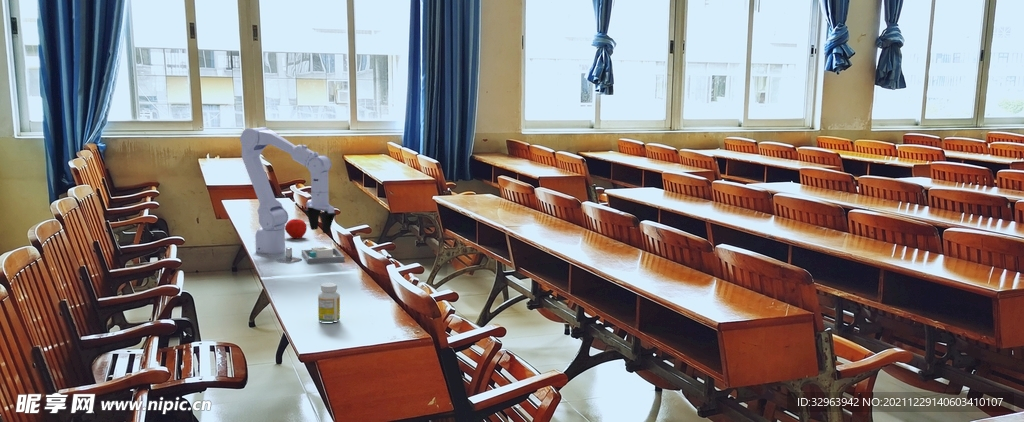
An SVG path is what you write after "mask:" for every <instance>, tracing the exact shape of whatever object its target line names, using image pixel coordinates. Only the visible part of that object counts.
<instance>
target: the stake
mask: <svg viewBox="0 0 1024 422" xmlns="http://www.w3.org/2000/svg"><path fill="white" fill-rule="evenodd" d="M302 260H303V259H302V258H301V257H294V256H293V249H292V247H285V257H279V258H277V259H276V260H275V261H276V263H280V264H281V263H282V264H295V263H299V262H302Z"/></svg>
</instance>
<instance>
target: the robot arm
mask: <svg viewBox="0 0 1024 422" xmlns="http://www.w3.org/2000/svg"><path fill="white" fill-rule="evenodd" d="M239 141H240V144H241V158H242V159H241V160H242V161H243V164H244V166H245V168H246V172H247V174H248V177H249V179H250V182H251V184H252V187H253V189H254V193H255V196H256V198H257V199H258V203H259V206H258V208H257V214H258V224H259V226H260V227H259V228H258V229H257V230H256V232H255V253H263V254H270V255H271V254H273V255H274V254H275V255H278V254H282V253H286V235H285V234H286V230H285V226H286V224H287V223H288V222H289V213H288V211H287V210H286V208H284V206H283V204H282V203H281V202H280V201H279V200H278V199H276V197H275V194H274V192H273V189H272V187H271V184H270V181H269V178H268V175H267V173H266V171H265V168H264V166H263V163H262V160H261V154H262V153H263V151H264V150H265V148H266V147H268V145H270V146H274V147H275V148H277V149H279V150H281V151H283V152H286V153H287V154H290V157H291V159H292V161H295V162H297V163H298V164H300V165H302V166H303V167H305V168H307V170H308V172H309V173H310V179H311V180H310V181H311V182H310V188H311V189H310V194H311V195H310V199H311V201H306V204H305V205H306V206H305V207H306V208H305V209H304V213H305V214H306V217H307V219H308V223H309V225H310V230H312V231H314V230H319V229H318V228H319V221H320V222H321V228H322V233H323V234H329V233H330V231H331V228H332V224H333V222H334V219H335V218H336V215H337V212H335V207H334V206H332V205H330V203H329V202H330V201H329V200H330V199H329V197H330V195H329V189H330V188H329V187H330V186H329V184H330V183H329V171H330V170H331V169H332V161H331V159H330V157H328V156H327V155H326V154H322V155H320V154H319V152H317V151H313V150H311V149H309V148H308V145H306V144H298V145H295V144H294V143H292V142H290V141H289V140H288V139H286V138H284V137H283V136H281V135H279V134H278V133H276V132H275V131H274V130H273V129H269V128H268V127H266V126H261V127H252V128H251V127H250V128H249V127H248V128H245V129H244V130H243V131H242V133H241V135H240V137H239ZM319 219H320V220H319Z"/></svg>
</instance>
